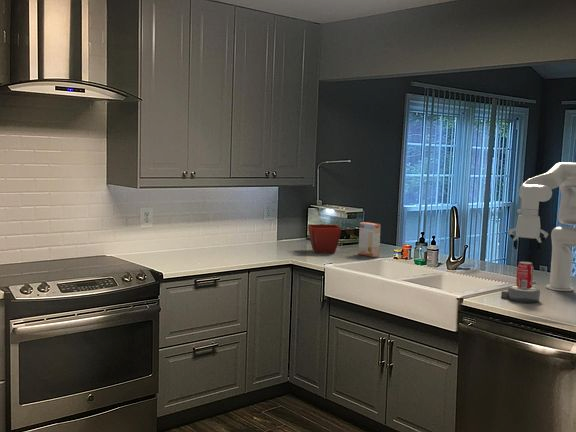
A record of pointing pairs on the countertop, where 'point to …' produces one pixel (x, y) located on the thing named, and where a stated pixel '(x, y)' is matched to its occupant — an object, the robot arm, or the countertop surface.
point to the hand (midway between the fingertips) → (526, 249)
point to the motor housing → (521, 295)
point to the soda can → (524, 275)
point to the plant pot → (324, 238)
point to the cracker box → (369, 239)
